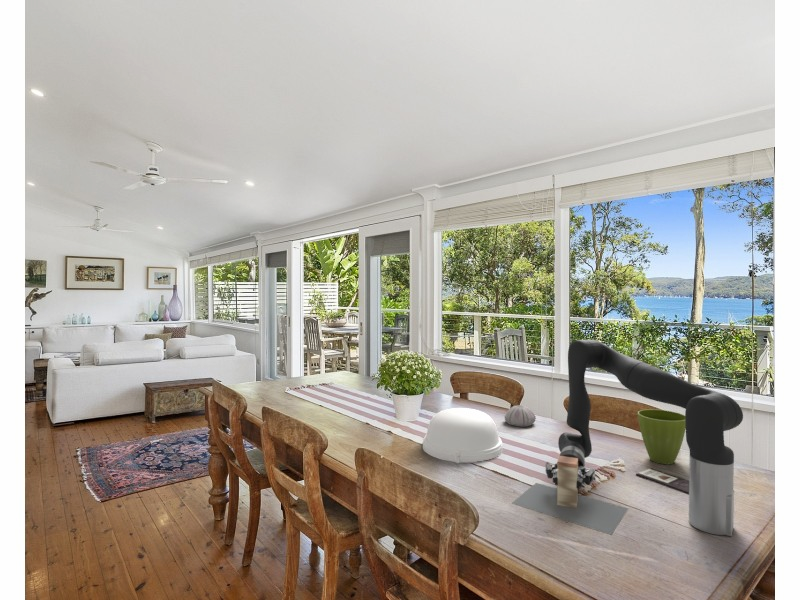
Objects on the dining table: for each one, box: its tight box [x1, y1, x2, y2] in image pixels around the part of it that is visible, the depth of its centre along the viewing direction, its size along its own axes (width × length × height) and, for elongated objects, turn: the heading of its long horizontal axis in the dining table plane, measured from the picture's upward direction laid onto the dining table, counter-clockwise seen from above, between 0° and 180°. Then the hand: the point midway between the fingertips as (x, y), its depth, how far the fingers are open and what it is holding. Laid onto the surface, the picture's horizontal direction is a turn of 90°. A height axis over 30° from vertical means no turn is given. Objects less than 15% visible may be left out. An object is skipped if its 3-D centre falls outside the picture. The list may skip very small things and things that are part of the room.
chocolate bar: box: [635, 467, 689, 495], centre depth 142 cm, size 9×1×18 cm
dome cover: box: [422, 407, 504, 464], centre depth 173 cm, size 32×30×14 cm
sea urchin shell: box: [504, 404, 537, 428], centre depth 204 cm, size 13×14×8 cm
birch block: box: [556, 455, 579, 508], centre depth 128 cm, size 5×5×12 cm
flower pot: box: [637, 408, 686, 465], centre depth 160 cm, size 15×15×16 cm
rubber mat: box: [511, 482, 630, 536], centre depth 126 cm, size 26×17×1 cm, turn 51°
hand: (567, 483), depth 125 cm, fingers closed on birch block, 5 cm apart
